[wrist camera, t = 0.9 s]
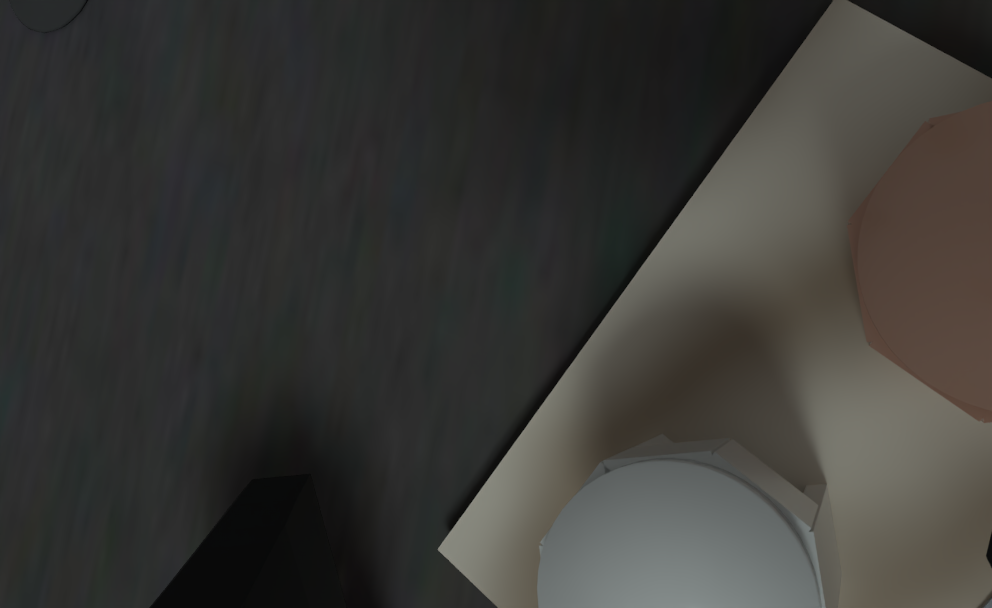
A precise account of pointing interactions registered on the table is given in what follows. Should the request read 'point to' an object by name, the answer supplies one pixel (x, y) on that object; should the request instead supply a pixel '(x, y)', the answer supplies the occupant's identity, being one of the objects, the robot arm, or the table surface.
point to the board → (774, 344)
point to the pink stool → (933, 259)
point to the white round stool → (690, 534)
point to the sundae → (46, 13)
